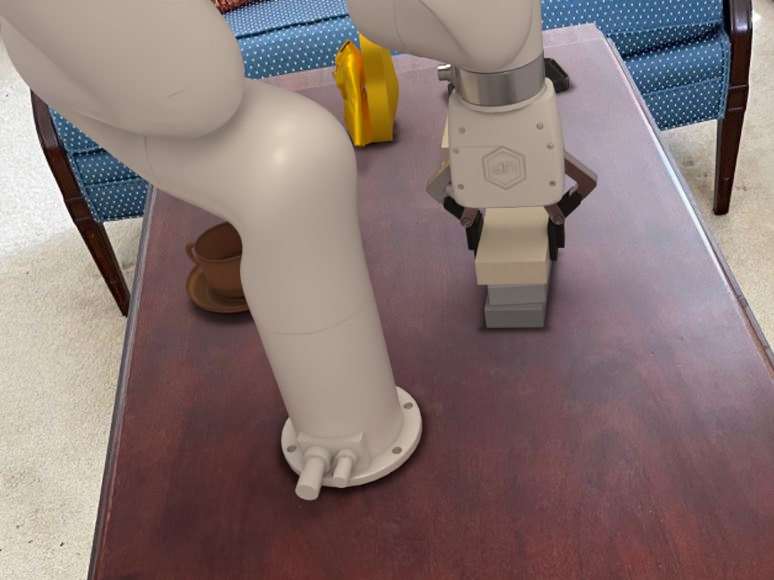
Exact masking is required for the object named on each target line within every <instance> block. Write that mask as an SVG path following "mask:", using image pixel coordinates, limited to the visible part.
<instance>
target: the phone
mask: <svg viewBox="0 0 774 580" xmlns="http://www.w3.org/2000/svg"><path fill="white" fill-rule="evenodd" d="M544 65H545V77H546V78H549V79H550V80H551V81H552V83H553V87H554V90H555V93H558V92H561V91H565V90H568V89H569V88H570V76H569V75H568V73H567V72H566V71H565V70H564V69H563V68H562V67H561V65H560V64H559V63H558V62H557V60H555V59H554V58H553V57H544ZM454 88H455V86H453V84H452V82H448V83H447V93H448V96H449V97H450V95H451V94H452V91H453V90H454Z"/></svg>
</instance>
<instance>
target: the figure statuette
mask: <svg viewBox="0 0 774 580" xmlns="http://www.w3.org/2000/svg"><path fill="white" fill-rule="evenodd" d="M358 39H359V47H360V48H358V47H357V45H355V44H354V41H352V40H350V39H347V40H345V42H344V43H343V44H342V46H341V47H340V49H339V50H338V52H337V53H336V55H335V56H334V57H335V58H334V63H335V69H334V71H333V72H331V74H332V77H333V78H334V81H335V85H336V87H337V89H338V90H339V92H340V95H341V99H342V102H343V113H344V114H343V121H344V124H345V126H346V129H347V131H348V133H349V136H350V139H351V141H352V144H353V145H354V146H353V147H355V148H363V147H366V145H368V144H371V143H382V142H383V143H384V142H392V141H393V137H394V136H393V131H394V124H395V120H396V115H397V110H398V104H399V99H400V84H399V80H398V76H397V72H396V69H395V66H394V61H393V57H392V54H391V50H389V49H386V48H383V47H380V46H378V45H376V44H374V43H372V42H370V41H369V40H367V39H366V38H365V37H363V36H362V35H361V34H360V33H359V32H358Z"/></svg>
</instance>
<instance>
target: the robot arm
mask: <svg viewBox="0 0 774 580" xmlns="http://www.w3.org/2000/svg"><path fill="white" fill-rule="evenodd" d="M345 4H346V10H347V13H348V16H349V19H350V21H351V23H352V24H353V26H354V28H355V29H356V31H357V32H358V34H359V33H360V34H361V35H362V36H363V37H365V38H366V39H367V40H369V41H370V42H372V43H374V44H376V45H378V46H380V47H383V48H386V49H389V50H390V51H393V52H398V53H401V54H406V55H409V56H413V57H417V58H425V59H429V60H433V61H437V62H441V63H438V64H437V77H438V78H437V79H438V81H439V82H445V81H447V82H448V83H450V82H452V84H453V86H455V88H454V90H453V91H452V94H451V95H450V96H449V98H448V106H447V115H448V142H449V157H450V159H449V160H448V161H447V162H446V163H445V164H444V165H443V166H440V168H439V169H437V171H436V172H435V173H434V174H433V175H432V176H431V177H430V178H429V179H428V181H427V184H426V187H425V192H426V193H427V194H428V195H429V196H430V197H432V198H433V199H434V200H435V201H436V202H438V203H439V204H441V205H442V206H443V207H442V208H443V209H444V210H446V211H447V212H448V213H449V214H451V215H452V216H453V217H455V218H456V219H457V220H459V223H460V225H461V226H462V227H463V228H464V229H465V236H466V243H467V250H468V251H473V256H474V260H475V259H476V254H477V250H478V245H479V241H480V237H481V233H482V228H483V224H484V215H483V214H484V213H483V212H481V209H485V210H486V209H487V208H519V207H542V206H543V207H544V208H545V210H546V212H547V213H548V215H549V218H548V225H547V233H548V241H549V256H550V260H551V261H552V262H557V261H558V255H559V249H565V246H566V227H565V226H566V225H565V221H566V218H568V217H569V216H570V215H571V214H572V213H573V212H574V211H575V210H576V209H577V208H579V206H581V204H582V201H584V199H586V198H587V197H588V196H589V195H590V194H591V193H592V192H593V191H594V190H595V189H596V188H597V186H598V178H599V177H598V174H597V173H596V172H595V171H593V170H592V169H591V168H590V167H588V166H587V165H585V164H584V163H583V162H581V161H580V160H579V159H578V158H576V157H575V156H574V155H572V153H570V152H569V151H568V150H566V148H565V139H564V132H563V131H564V130H563V124H562V118H561V117H562V116H561V112H560V107H559V102H558V98H557V94H556V93H557V92H555V90H554V87H553V83H552V81H551V80H550V79H549V78H546V77H545V65H544V58H545V50H544V49H545V48H544V37H543V36H544V35H543V21H542V20H543V19H542V18H543V17H542V1H541V0H345ZM0 33H1V38H2V42H3V45H4V48H5V50H6V53H7V55H8V58H9V59H10V60H9V61H10V62H11V64H12V65H13V67H14V69H15V70H16V72H17V74H18V75H19V76H20V78H21V79H22V80H23V82H24V83H25V84H26V85H27V87H28V88H29V89H30V90H31V91H32V92H33V93H34V94H35V95H36V96H37V97H38V98H39V99H40V100H41V101H43V102H44V103H45V104H46V105H47V106H49V107H50V108H51V109H52V110H53V111H55V112H56V113H57V114H59V116H60V117H62V118H63V119H64V120H66V121H67V122H69V123H70V124H71V125H72V126H74V127H75V128H76V129H78V130H79V131H80V132H82V133H83V134H84V135H85V136H87V137H88V138H89V139H90V140H92V141H93V142H95V144H97V145H98V146H99V147H101V148H102V149H103V150H105V151H106V152H107V153H109V154H110V156H113V157H114V158H115V159H116V160H118V161H119V162H120V163H122V164H123V165H124V166H126V167H127V168H128V169H130V171H132V172H133V173H135V174H136V175H138V176H139V177H140V178H142V179H143V180H144V181H146V182H147V183H149V184H151V185H152V186H154V187H155V188H156V189H158V190H160V191H162V192H163V193H166V194H168V195H169V196H172V197H174V198H177V199H179V200H181V201H183V202H185V203H187V204H189V205H192V206H194V207H197V208H198V209H201V210H203V211H206V212H208V213H210V214H211V215H212V216H215V217H216V218H217V217H218V218H220V219H222V220H224V221H225V222H227V221H228V222H229V223H231V224H232V225H233V226H234V227H235V229H236V230H237V231H238V233H239V235H240V237H241V240H242V246H243V249H242V258H241V265H240V277H241V283H242V287H243V291H244V295H245V298H246V301H247V304H248V306H249V309H250V310H249V312H250V315H251V317H252V319H253V321H254V324H255V326H256V329H257V332H258V335H259V338H260V340H261V344H262V346H263V349H264V352H265V355H266V357H267V360H268V362H269V365H270V368H271V370H272V374H273V377H274V379H275V381H276V384H277V387H278V390H279V392H280V395H281V399H282V401H283V403H284V406H285V409H286V412H287V415H288V418H287V419H286V421H285V422H284V426H283V428H282V431H281V438H280V443H281V449H282V452H283V455H284V458H285V460H286V462H287V464H288V465H289V467H290V469H291V470H292V471H293V472H294V473H295V474H297V475H298V481H297V483H296V487H295V489H294V492H295V494H296V496H298V498H300V499H303V500H305V501H313V500H316V499H318V497H319V495H320V492H321V489H322V486H324V487H330V488H331V487H332V488H340V489H343V488H347V487H353V486H354V487H355V486H361V485H364V484H368V483H371V482H374V481H377V480H378V479H381V478H383V477H385V476H387V475H389V474H390V473H391V472H392V473H393V472H394V471H396V470H397V469H399V468H400V467H401V466H402V465H403V464H404V463H405V462H406V461H407V460H409V458H410V457H411V456H412V454H413V453H414V452H415V450H416V449H417V447H418V445H419V443H420V441H421V437H422V433H423V419H422V416H421V411H420V408H419V405H418V404H417V402H416V400H415V399H414V397H412V396H411V394H410V393H408V392H407V391H406V390H405V389H403V388H402V387H400V386H397V385H396V382H395V377H394V373H393V368H392V365H391V360H390V356H389V353H388V348H387V343H386V340H385V336H384V332H383V326H382V323H381V318H380V315H379V311H378V306H377V301H376V298H375V293H374V289H373V285H372V282H371V277H370V274H369V269H368V265H367V260H366V256H365V252H364V247H363V242H362V235H361V230H360V221H359V220H360V219H359V210H358V209H359V207H358V206H359V205H358V166H357V158H356V152H355V148H354V146H353V145H354V144H353V142H352V139H351V137H350V135H349V134H348V132H347V131H346V129H345V127H344V126H343V125H342V123H341V122H340V121H339V119H338V118H336V117H335V115H334V114H332V112H330V110H328V109H327V108H325V107H323V106H322V105H320V104H319V103H318V102H316V101H314V100H312V99H311V98H309V97H306V96H305V95H302V94H301V93H297V92H295V91H292V90H290V89H287V88H283V87H280V86H277V85H273V84H270V83H266V82H264V81H261V80H256V79H254V78H250V77H246V72H245V63H244V57H243V54H242V51H241V48H240V47H241V46H240V44H239V42H238V40H237V38H236V35H235V33H234V31H233V30H232V28H231V26H230V24H229V22H228V21H227V20H226V18H225V17H224V16H223V15H222V13H221V12H220V10H219V9H218V8H217V6H216V5H215V4H214V2H213V1H211V0H0ZM566 176H567V177H568V178H570V179H571V180H573V181H574V182H575V185H573V186H571V187H570V188H569V189H567V191H566V192H565V187H566V186H565V185H566ZM451 180H452V181H451ZM450 182H451V188H452V189H451V188H450V187H449V186H448V184H450ZM564 192H565V193H564Z"/></svg>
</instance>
